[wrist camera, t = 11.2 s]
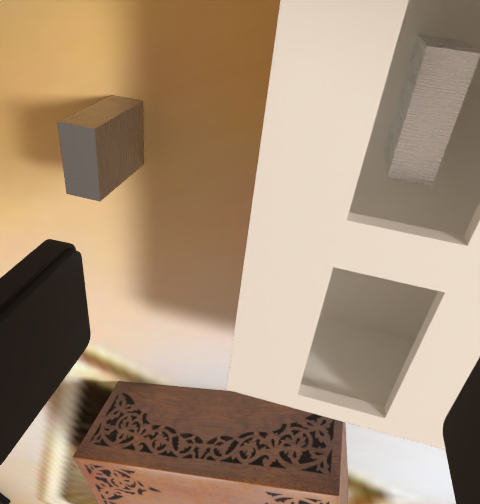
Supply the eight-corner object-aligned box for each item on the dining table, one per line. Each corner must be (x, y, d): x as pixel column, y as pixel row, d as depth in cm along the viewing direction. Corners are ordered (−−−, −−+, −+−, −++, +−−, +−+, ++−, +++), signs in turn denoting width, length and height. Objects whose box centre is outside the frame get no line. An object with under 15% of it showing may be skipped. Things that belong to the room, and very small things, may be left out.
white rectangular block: (318, -75, 24) (294, -98, 16) (630, -38, 22) (784, -44, 14) (255, 304, 40) (226, 389, 32) (434, 348, 38) (453, 452, 30)
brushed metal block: (111, 95, 33) (57, 121, 27) (142, 100, 32) (94, 128, 27) (115, 157, 36) (66, 193, 30) (143, 164, 35) (100, 201, 29)
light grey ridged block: (384, 149, 29) (417, 34, 25) (422, 156, 29) (462, 40, 25) (386, 178, 25) (427, 46, 21) (431, 186, 25) (481, 53, 21)
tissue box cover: (150, 455, 59) (115, 533, 51) (119, 379, 52) (72, 456, 43) (348, 482, 51) (344, 579, 43) (344, 399, 44) (339, 496, 36)
